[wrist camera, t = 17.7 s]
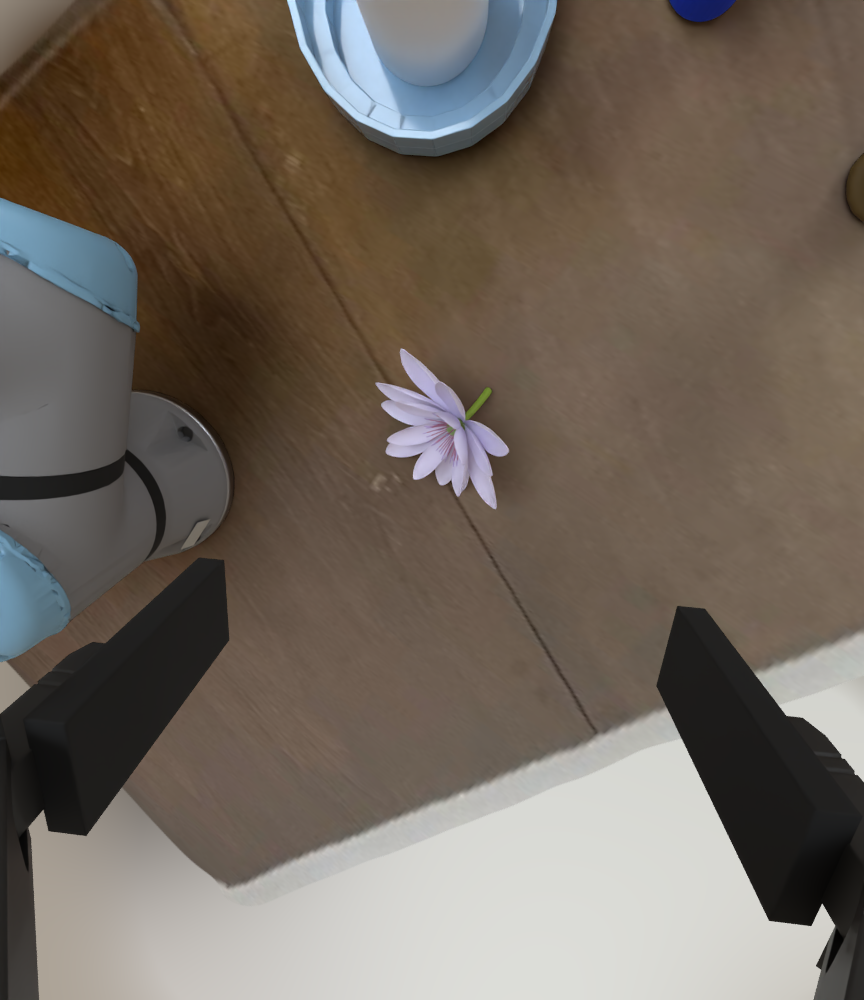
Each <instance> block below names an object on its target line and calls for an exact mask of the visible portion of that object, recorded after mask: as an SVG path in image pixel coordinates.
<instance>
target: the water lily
mask: <svg viewBox="0 0 864 1000" xmlns="http://www.w3.org/2000/svg"><path fill="white" fill-rule="evenodd" d="M400 357H401V361H402V364H403V366H404V368H405V370H406V372H407V374H408V375H409V377H410V378H411V380H412V381H413V382H414V383H415V385H416V386H417V387H418V388H420V389H421V390H422V391H423V392H424V393H425V394H426V395H427V396H429V397H430V398H431V399H432V400H433V401H432V400H431V399H429V398H427V397H425V396H423V395H421V394H418V393H416V392H414V391H411V390H408V389H405V388H402V387H398V386H395V385H390V384H384V383H376V385H377V387H378V388H379V389H380V390H381V391H382V393H384V394H385V395H386V396H387V397H389V398H390V399H391V400H387V401H384V402H383V403H382V404H381V406H382V408H383V409H384V410H385V411H386V412H387V413H388V414H390V415H391V416H392V417H394V418H395V419H397V420H399V421H401V422H403V423H406V424H409V425H413V426H412V427H409V428H406V429H403V430H401V431H398V432H396V433H394V434H393V435H391V436H390V437H389V438H388V439H387V441H388V442H389V445H388V446H387V448H386V454H388V455H390V456H393V457H410V456H414V455H417V454H420V453H422V452H423V453H422V454H421V456H420V457H419V459H418V460H417V462H416V465H415V467H414V471H413V479H414V480H418V479H421V478H424V477H425V476H427V475H428V474H430V473H431V472H432V471H433V470H434V469H435V474H436V478H437V481H438V483H439V484H440V485H445V484H447V483H448V482H449V481H450V480H451V482H452V485H453V488H454V491H455V493H456V495H457V496H458V497H459V496H460V494H461V492H462V491H463V490H464V489H465V488H466V486H467V483H468V480H469V475H470V478H471V480H472V482H473V485H474V487H475V488H476V490H477V492H478V493H479V495H480V496H481V498H482V499H483V500H484V501H485V502H486V503H487V504H488V505H489V506H490V507H492V508H493V509H496V508H497V503H496V496H495V491H494V486H493V482H492V479H491V476H493V474H492V469H491V465H490V462H489V459H488V456H487V454H486V452H485V450H486V451H487V452H488V453H490V454H492V455H494V456H499V457H501V456H505V455H506V454H508V452H509V449H508V447H507V446H506V444H505V443H504V442H503V441H502V440H501V438H500V437H499V436H498V435H497V434H496V433H495V432H493V431H492V430H491V429H490V428H488V427H487V426H485V425H483V424H481V423H479V422H476V421H472V420H469V419H470V418H471V417H472V416H473V415H474V414H475V412H476V411H477V410H478V409H479V408H480V407H481V406H482V405H483V403H484V402H485V401H486V400H487V398H488V397H489V396H490V394H491V393H492V391H491V389H490V388H488V387H487V388H485V390H484V391H483V392H482V394H481V395H480V397H479V398H478V399H477V400H476V402H475V403H474V404H473V405H472V406H471V407H470V409H469V410H468V411H467V412H466V413H465V410H464V407H463V405H462V403H461V401H460V399H459V398H458V396H457V395H456V393H455V392H454V391H453V390H452V389H451V388H450V387H449V386H447V385H446V384H444V383H443V382H440V381H439V380H438V379H437V378H436V377H435V375H434V374H433V373H432V372H431V371H430V370H429V369H428V368H427V367H426V366H425V365H423V364H422V363H421V362H420V361H419V360H418V359H416V358H415V357H414V356H412V355H411V354H410V353H408V352H407V351H405V350H404V349H402V348H401V350H400ZM484 449H485V450H484Z"/></svg>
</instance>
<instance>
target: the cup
mask: <svg viewBox="0 0 864 1000" xmlns="http://www.w3.org/2000/svg"><path fill="white" fill-rule="evenodd" d="M356 2H357V4H358V7H359V9H360V12H361V15H362V17H363V20H364V22H365V25H366V27H367V30H368V33H369V35H370V38H371V40H372V43H373V46H374V48H375V50H376V52H377V54H378V56H379V58H380V59H381V61H382V62H383V63H384V65H385V66H386V67H387V68H388V69H389V70H390V71H391V72H392V73H393V74H394V75H395V76H397V77H398V78H400V79H401V80H403V81H405V82H407V83H410V84H413V85H417V86H435V85H439V84H443V83H445V82H448V81H450V80H451V79H453V78H455V77H456V76H458V75H459V74H460V73H461V72H462V71H464V69H465V68H466V67H467V66H468V65H469V64H470V63H471V61H472V60H473V58H474V57H475V55H476V54H477V52H478V50H479V48H480V46H481V43H482V41H483V38H484V35H485V31H486V26H487V19H488V3H489V0H356Z"/></svg>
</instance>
